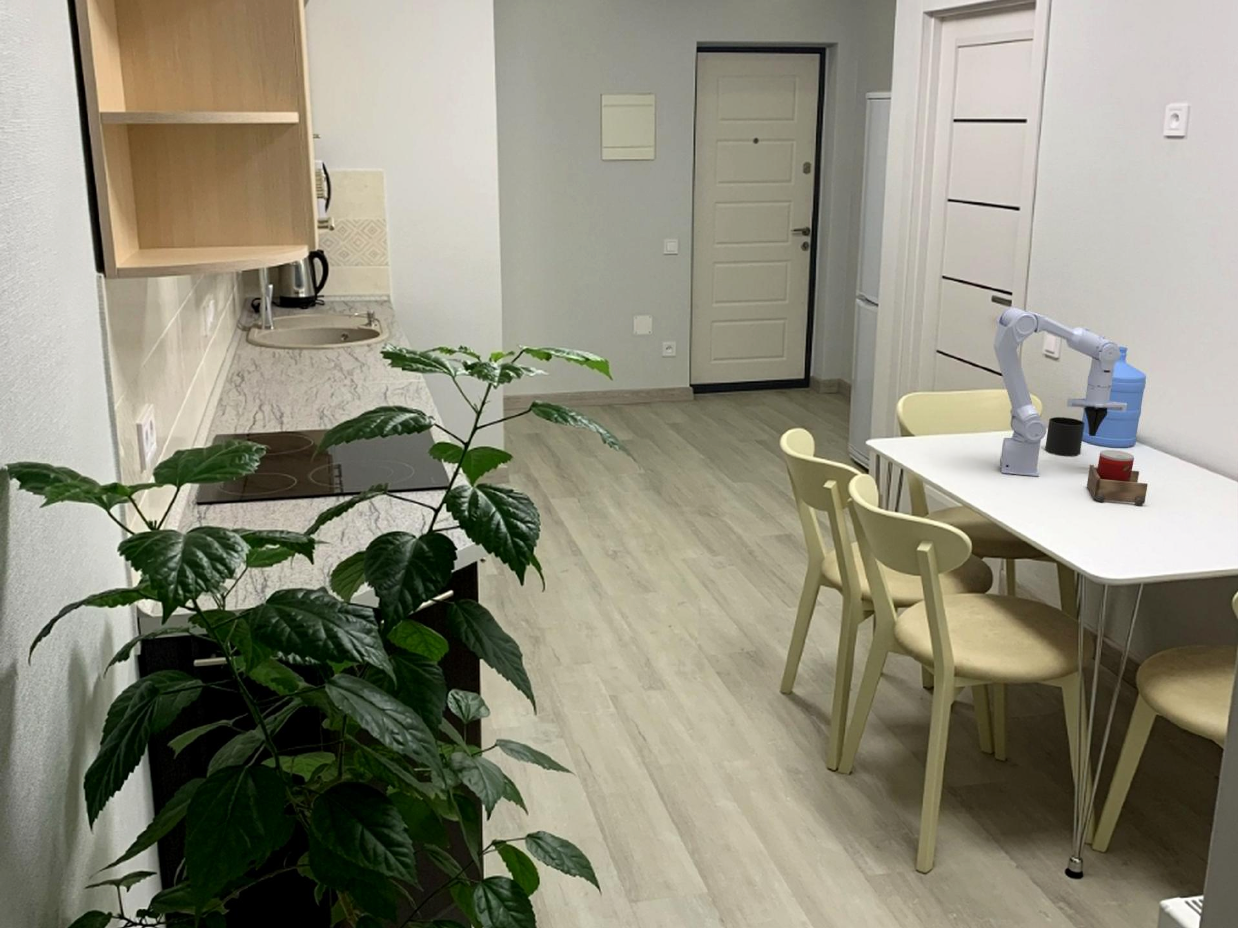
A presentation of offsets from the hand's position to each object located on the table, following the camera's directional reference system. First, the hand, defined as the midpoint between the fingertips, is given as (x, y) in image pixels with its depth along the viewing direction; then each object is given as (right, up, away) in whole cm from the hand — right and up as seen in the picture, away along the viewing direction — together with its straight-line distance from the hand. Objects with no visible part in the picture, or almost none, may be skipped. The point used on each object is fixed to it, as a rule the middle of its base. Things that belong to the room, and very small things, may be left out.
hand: (1091, 435), depth 317 cm
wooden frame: (-1, -16, -17) cm, 23 cm away
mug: (0, -4, +24) cm, 24 cm away
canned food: (-2, -16, -16) cm, 23 cm away
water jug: (+18, -1, +36) cm, 40 cm away
